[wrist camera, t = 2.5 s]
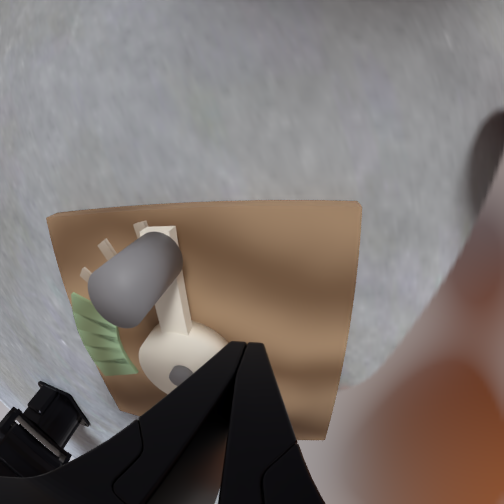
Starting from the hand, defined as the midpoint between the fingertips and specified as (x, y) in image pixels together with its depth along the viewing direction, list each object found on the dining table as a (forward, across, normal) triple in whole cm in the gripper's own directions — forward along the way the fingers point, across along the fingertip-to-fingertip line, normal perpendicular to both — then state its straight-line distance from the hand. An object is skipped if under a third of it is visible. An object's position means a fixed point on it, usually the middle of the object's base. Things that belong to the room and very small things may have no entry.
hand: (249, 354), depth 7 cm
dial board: (+9, +5, +7) cm, 13 cm away
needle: (+7, +5, +4) cm, 10 cm away
